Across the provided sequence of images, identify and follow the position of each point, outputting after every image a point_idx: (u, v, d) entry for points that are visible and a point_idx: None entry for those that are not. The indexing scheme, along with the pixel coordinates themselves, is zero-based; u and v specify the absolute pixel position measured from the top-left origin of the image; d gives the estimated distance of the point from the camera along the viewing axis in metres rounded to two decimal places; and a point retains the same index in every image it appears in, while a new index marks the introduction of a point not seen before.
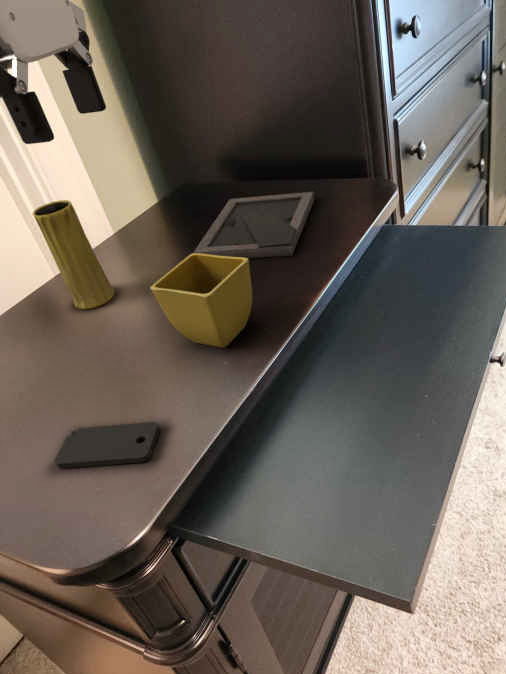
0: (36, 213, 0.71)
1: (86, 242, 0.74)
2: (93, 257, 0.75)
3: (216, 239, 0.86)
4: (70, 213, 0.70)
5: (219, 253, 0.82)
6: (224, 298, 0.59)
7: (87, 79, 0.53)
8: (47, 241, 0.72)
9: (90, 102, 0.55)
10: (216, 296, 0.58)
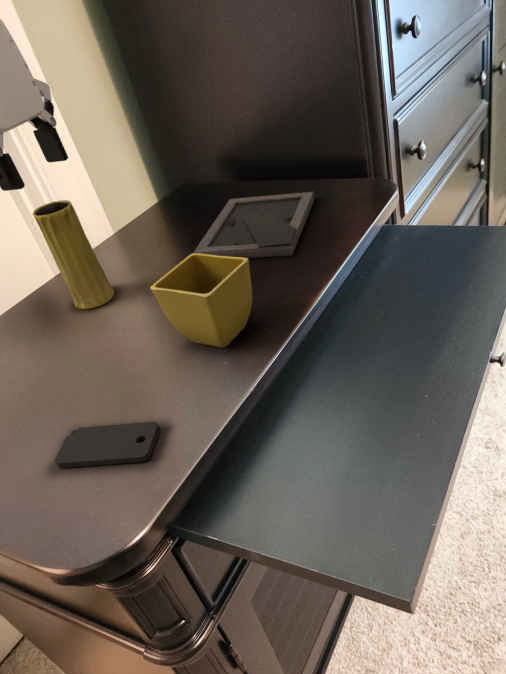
0: (36, 213, 0.71)
1: (86, 242, 0.74)
2: (93, 257, 0.75)
3: (216, 239, 0.86)
4: (70, 213, 0.70)
5: (219, 253, 0.82)
6: (224, 298, 0.59)
7: (52, 137, 0.68)
8: (47, 241, 0.72)
9: (55, 154, 0.70)
10: (216, 296, 0.58)
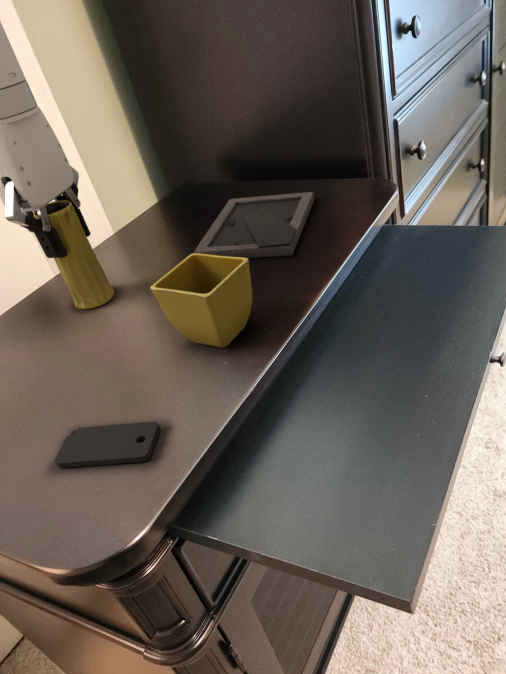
0: (36, 213, 0.71)
1: (86, 242, 0.74)
2: (93, 257, 0.75)
3: (216, 239, 0.86)
4: (70, 213, 0.70)
5: (219, 253, 0.82)
6: (224, 298, 0.59)
7: None
8: None
9: None
10: (216, 296, 0.58)
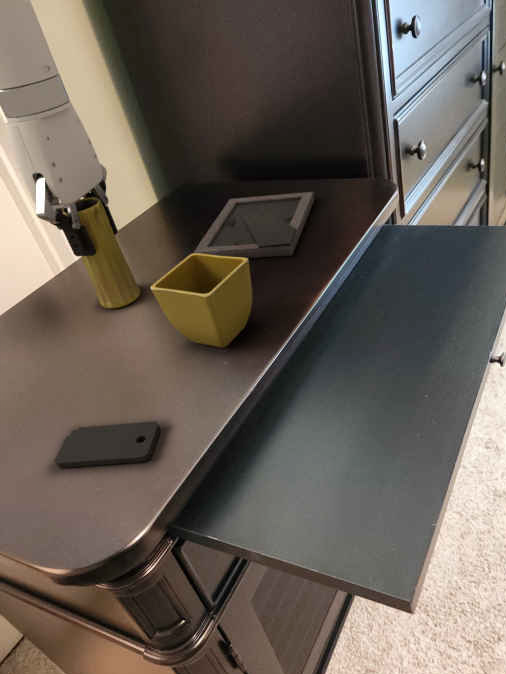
0: (64, 210, 0.70)
1: (114, 240, 0.72)
2: (121, 255, 0.74)
3: (216, 239, 0.86)
4: (99, 210, 0.69)
5: (219, 253, 0.82)
6: (224, 298, 0.59)
7: None
8: None
9: None
10: (216, 296, 0.58)
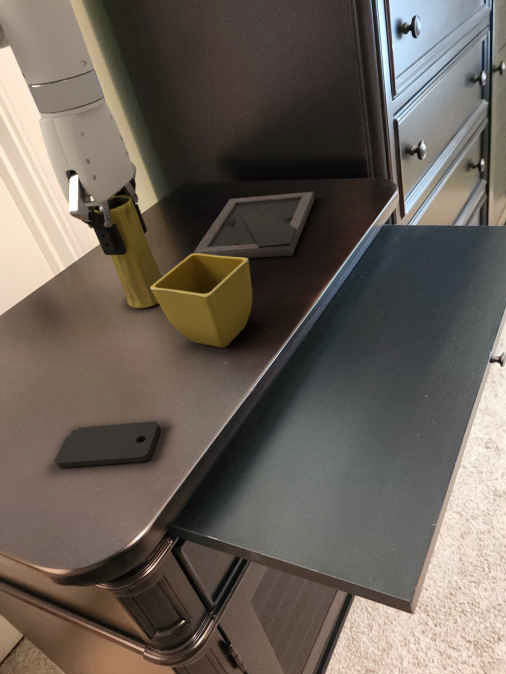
0: (95, 208, 0.68)
1: (144, 239, 0.71)
2: (150, 254, 0.73)
3: (216, 239, 0.86)
4: (131, 208, 0.68)
5: (219, 253, 0.82)
6: (224, 298, 0.59)
7: None
8: None
9: None
10: (216, 296, 0.58)
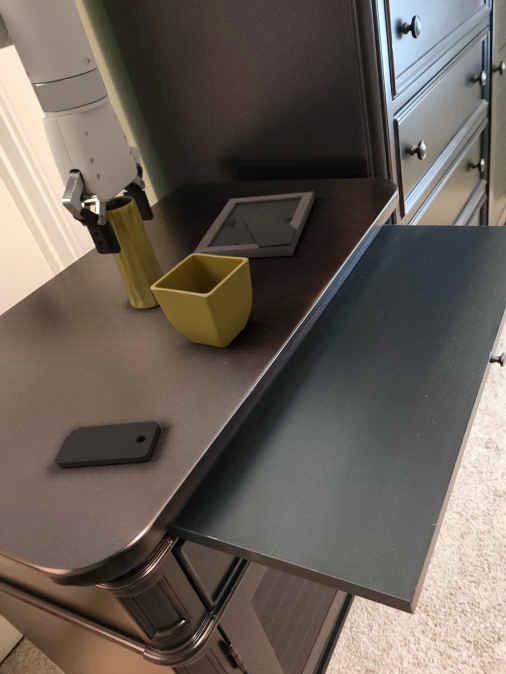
0: None
1: (147, 239, 0.71)
2: (153, 255, 0.72)
3: (216, 239, 0.86)
4: (133, 209, 0.68)
5: (219, 253, 0.82)
6: (224, 298, 0.59)
7: (141, 199, 0.72)
8: None
9: (142, 214, 0.73)
10: (216, 296, 0.58)
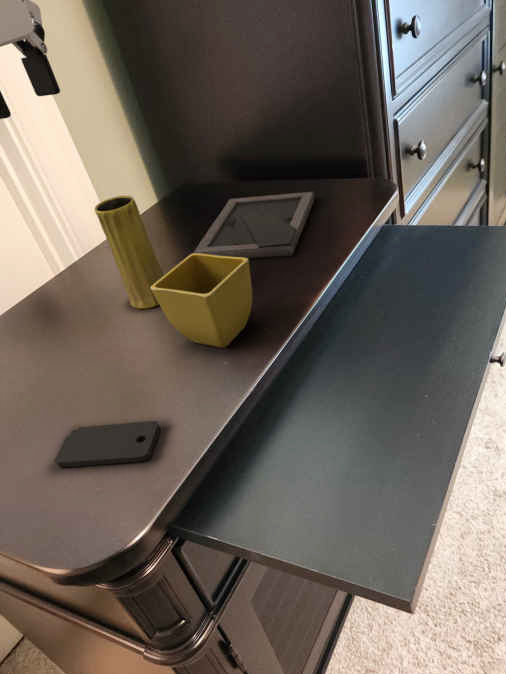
0: (97, 209, 0.68)
1: (147, 239, 0.71)
2: (153, 255, 0.72)
3: (216, 239, 0.87)
4: (133, 209, 0.68)
5: (219, 253, 0.82)
6: (224, 298, 0.59)
7: (42, 66, 0.61)
8: (108, 238, 0.69)
9: (46, 86, 0.63)
10: (216, 296, 0.58)
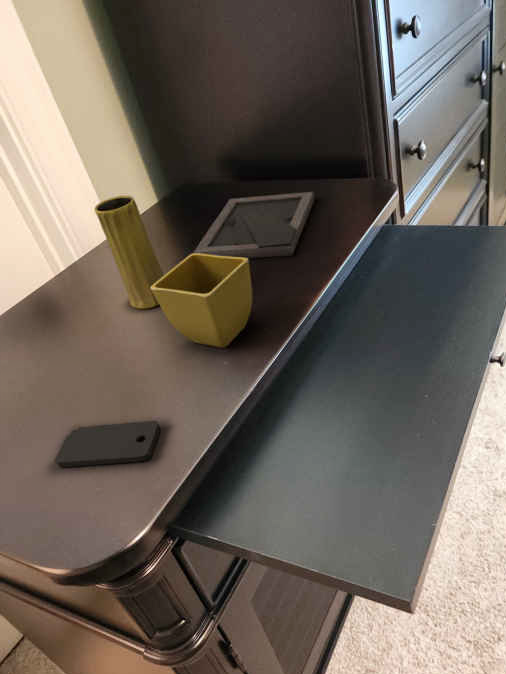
0: (97, 209, 0.68)
1: (147, 239, 0.71)
2: (153, 255, 0.72)
3: (216, 239, 0.87)
4: (133, 209, 0.68)
5: (219, 253, 0.82)
6: (224, 298, 0.59)
7: None
8: (108, 238, 0.69)
9: None
10: (216, 296, 0.58)
